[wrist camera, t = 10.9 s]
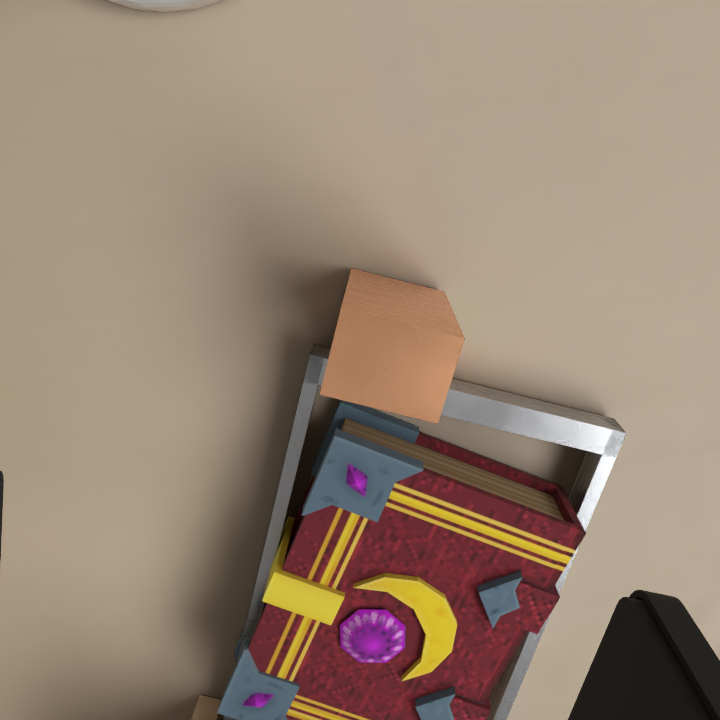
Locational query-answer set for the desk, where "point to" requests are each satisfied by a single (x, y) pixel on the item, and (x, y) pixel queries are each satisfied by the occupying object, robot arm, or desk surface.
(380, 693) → the decorative book
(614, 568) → the desk surface
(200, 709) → the wooden arch stand
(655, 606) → the robot arm
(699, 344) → the desk surface
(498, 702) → the tray
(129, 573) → the desk surface
